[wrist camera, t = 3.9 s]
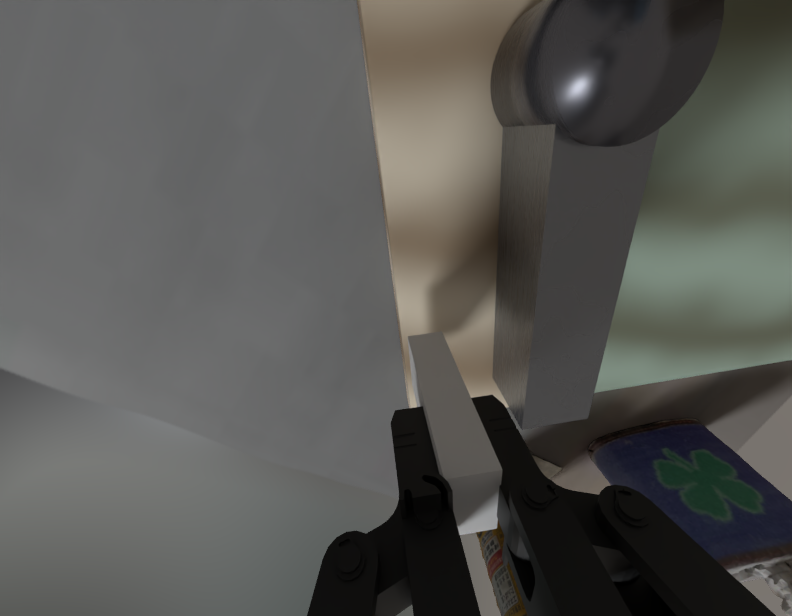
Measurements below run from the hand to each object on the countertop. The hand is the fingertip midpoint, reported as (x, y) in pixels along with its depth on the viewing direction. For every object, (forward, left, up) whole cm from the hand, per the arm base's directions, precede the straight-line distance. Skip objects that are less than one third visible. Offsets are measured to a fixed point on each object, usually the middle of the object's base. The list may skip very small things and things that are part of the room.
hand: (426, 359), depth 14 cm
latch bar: (-5, +5, -1) cm, 7 cm away
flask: (+14, +17, -4) cm, 23 cm away
